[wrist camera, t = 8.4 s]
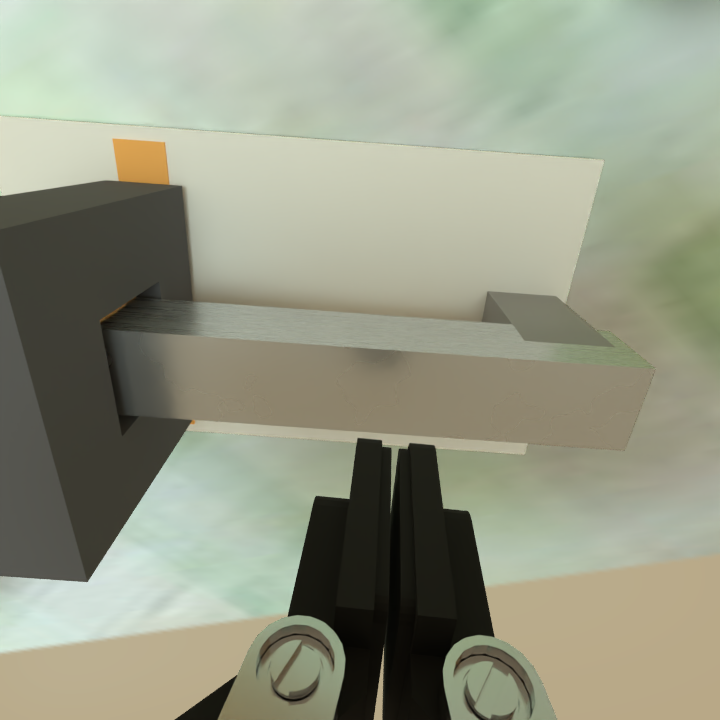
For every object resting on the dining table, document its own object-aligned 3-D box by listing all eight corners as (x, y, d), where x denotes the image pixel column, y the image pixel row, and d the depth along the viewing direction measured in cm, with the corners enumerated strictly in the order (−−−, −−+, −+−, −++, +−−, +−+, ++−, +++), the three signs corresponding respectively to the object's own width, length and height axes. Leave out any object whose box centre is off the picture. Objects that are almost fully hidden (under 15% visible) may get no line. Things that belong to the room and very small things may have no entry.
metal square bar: (609, 329, 17) (657, 368, 14) (585, 403, 18) (624, 452, 15) (-60, 281, 16) (-149, 310, 14) (-34, 359, 18) (-109, 400, 15)
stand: (593, 158, 19) (693, 168, 13) (519, 443, 25) (564, 537, 19) (0, 115, 19) (-173, 105, 13) (71, 411, 25) (-24, 496, 19)
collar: (181, 185, 18) (-10, 231, 9) (202, 403, 22) (87, 581, 13) (105, 180, 18) (-162, 221, 9) (141, 399, 22) (-16, 574, 13)
